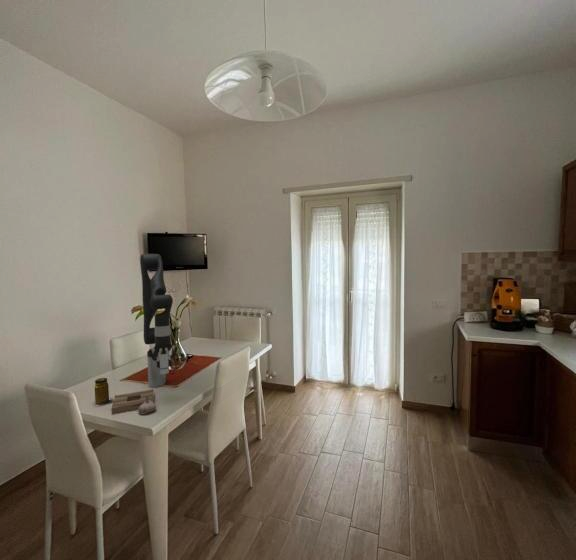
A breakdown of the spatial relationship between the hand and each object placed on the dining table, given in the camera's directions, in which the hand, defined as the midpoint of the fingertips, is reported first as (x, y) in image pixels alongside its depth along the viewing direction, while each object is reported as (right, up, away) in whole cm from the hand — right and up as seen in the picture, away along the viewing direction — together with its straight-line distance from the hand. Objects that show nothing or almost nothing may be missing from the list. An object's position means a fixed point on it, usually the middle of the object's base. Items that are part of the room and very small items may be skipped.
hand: (164, 367), depth 158 cm
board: (-14, -18, -3) cm, 23 cm away
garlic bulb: (-3, -18, -11) cm, 22 cm away
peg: (0, -3, 0) cm, 3 cm away
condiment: (-30, -18, 0) cm, 35 cm away
